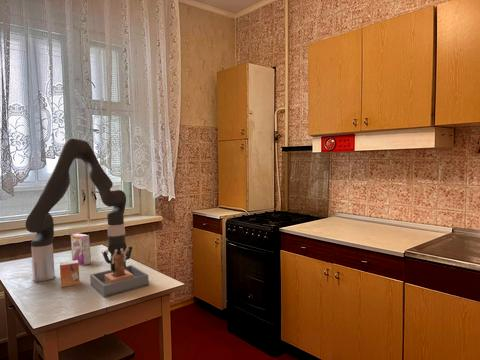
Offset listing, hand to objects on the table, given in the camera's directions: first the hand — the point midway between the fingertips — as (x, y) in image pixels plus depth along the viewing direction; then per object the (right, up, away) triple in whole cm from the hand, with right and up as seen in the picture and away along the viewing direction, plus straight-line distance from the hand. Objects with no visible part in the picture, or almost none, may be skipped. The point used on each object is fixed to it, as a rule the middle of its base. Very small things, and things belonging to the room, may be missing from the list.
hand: (118, 270), depth 159 cm
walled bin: (0, -7, +1) cm, 7 cm away
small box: (-24, -8, +4) cm, 26 cm away
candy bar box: (-34, -6, +37) cm, 51 cm away
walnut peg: (0, -4, 0) cm, 4 cm away
